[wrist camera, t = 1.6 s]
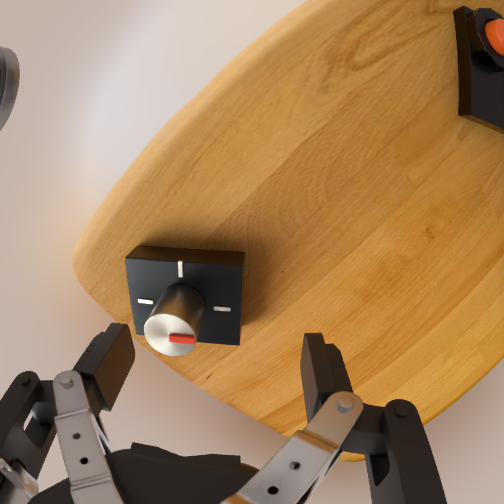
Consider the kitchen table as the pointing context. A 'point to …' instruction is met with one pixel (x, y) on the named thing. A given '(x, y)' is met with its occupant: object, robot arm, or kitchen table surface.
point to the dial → (175, 321)
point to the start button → (496, 35)
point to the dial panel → (195, 276)
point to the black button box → (479, 69)
